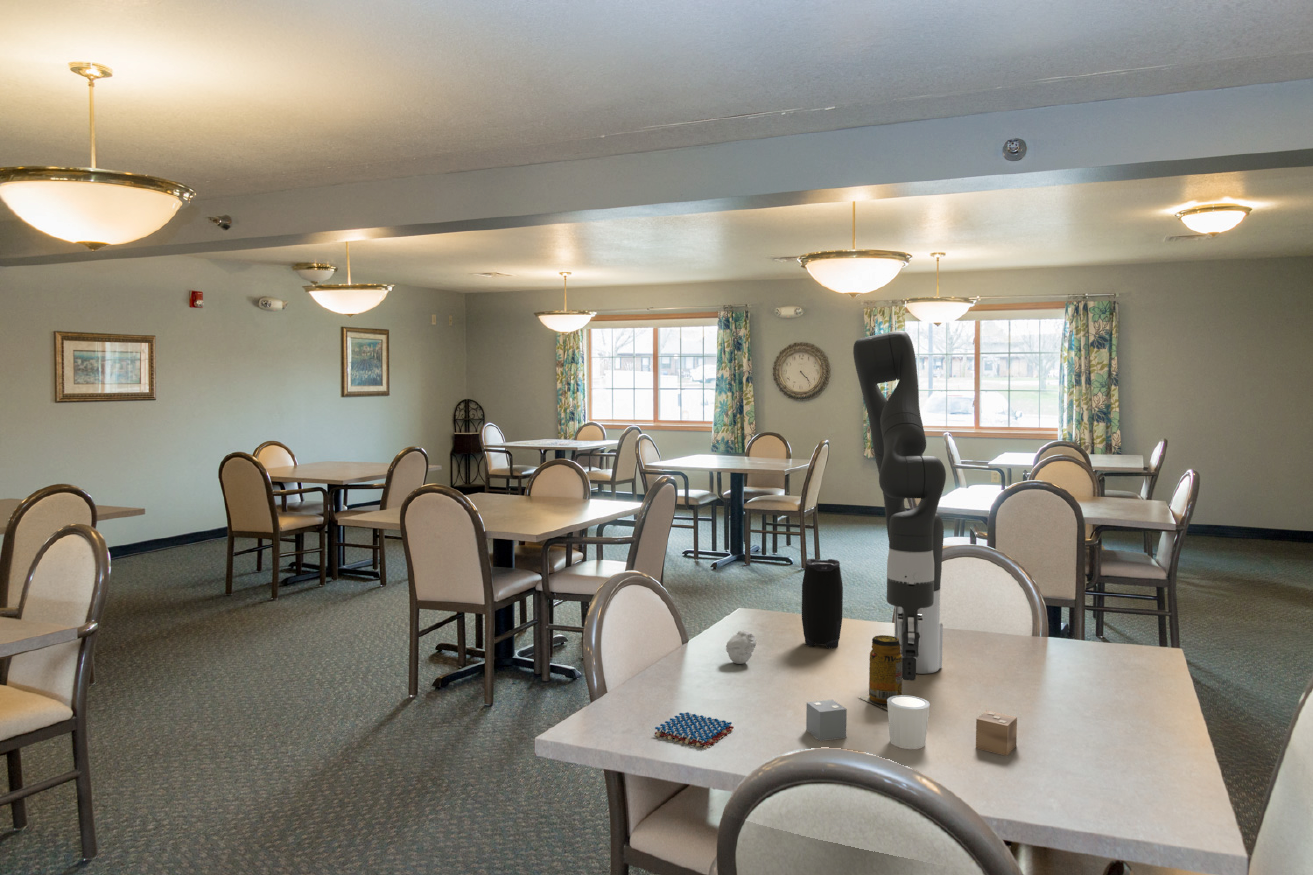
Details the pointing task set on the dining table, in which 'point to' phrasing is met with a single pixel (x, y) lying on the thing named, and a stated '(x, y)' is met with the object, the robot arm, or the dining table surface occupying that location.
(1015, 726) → the walnut dotted block
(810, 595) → the portable speaker
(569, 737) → the dining table surface
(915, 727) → the shot glass
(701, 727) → the woven mat
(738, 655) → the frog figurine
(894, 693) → the condiment
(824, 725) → the slate dotted block
